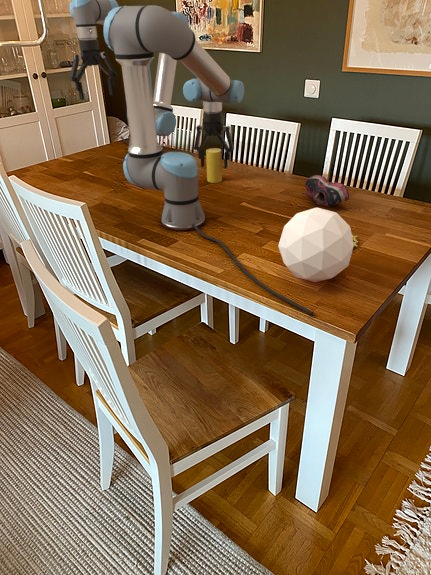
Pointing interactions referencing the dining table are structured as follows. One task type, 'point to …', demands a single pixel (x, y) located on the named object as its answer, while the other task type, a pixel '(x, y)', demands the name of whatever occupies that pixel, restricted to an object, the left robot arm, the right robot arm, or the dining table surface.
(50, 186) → the dining table surface
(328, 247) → the sphere
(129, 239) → the dining table surface
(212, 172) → the can
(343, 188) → the athletic shoe
